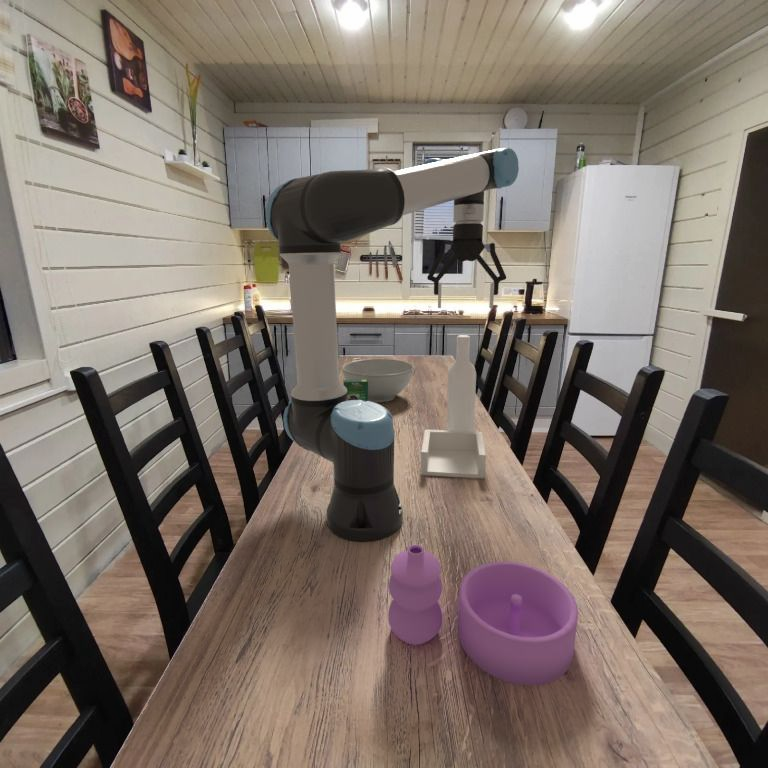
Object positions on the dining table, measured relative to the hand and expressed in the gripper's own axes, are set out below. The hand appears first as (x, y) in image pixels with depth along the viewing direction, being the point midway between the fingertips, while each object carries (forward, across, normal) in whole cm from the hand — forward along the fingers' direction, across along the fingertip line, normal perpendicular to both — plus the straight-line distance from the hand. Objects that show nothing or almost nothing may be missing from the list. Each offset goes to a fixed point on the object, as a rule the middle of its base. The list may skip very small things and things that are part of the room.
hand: (465, 307), depth 122 cm
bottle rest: (+38, -2, -17) cm, 41 cm away
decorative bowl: (+38, -30, +38) cm, 61 cm away
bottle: (+38, 0, 0) cm, 38 cm away
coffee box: (+38, -33, +13) cm, 52 cm away
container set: (+38, +1, -72) cm, 81 cm away
